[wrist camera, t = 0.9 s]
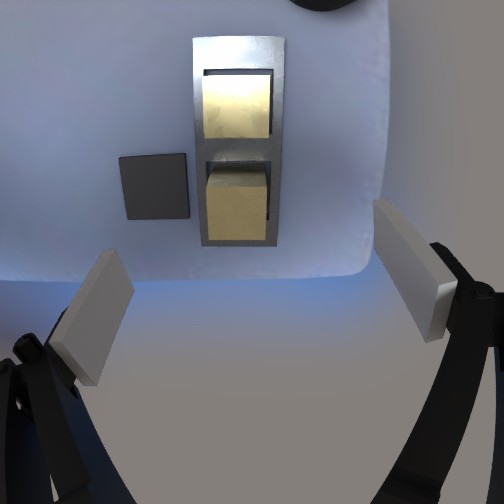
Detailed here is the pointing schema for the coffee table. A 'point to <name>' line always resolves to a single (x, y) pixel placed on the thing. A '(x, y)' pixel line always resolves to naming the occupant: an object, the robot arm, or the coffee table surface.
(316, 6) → the pen holder
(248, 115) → the block
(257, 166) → the tan textured cube
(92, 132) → the coffee table surface
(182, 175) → the rubber pad
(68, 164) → the coffee table surface
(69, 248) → the coffee table surface
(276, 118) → the rail
